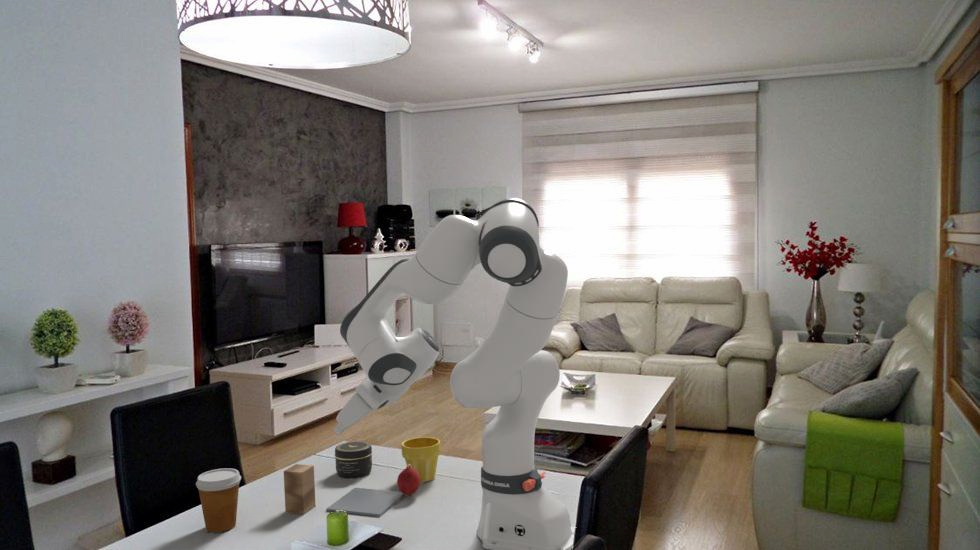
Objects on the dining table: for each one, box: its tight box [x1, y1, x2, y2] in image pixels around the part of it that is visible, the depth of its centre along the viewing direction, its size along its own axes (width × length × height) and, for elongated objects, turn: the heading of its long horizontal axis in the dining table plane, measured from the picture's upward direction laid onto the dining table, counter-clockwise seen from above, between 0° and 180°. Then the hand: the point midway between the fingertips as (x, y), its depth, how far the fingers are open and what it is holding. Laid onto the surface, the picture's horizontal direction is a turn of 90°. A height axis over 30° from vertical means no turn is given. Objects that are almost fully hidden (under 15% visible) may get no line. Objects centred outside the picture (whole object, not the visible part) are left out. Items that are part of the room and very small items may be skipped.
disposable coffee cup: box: [195, 467, 242, 533], centre depth 154 cm, size 10×10×12 cm
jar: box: [334, 440, 373, 480], centre depth 188 cm, size 10×10×8 cm
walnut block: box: [283, 463, 317, 516], centre depth 163 cm, size 5×5×10 cm
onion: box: [396, 464, 422, 497], centre depth 170 cm, size 6×6×8 cm
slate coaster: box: [325, 487, 405, 518], centre depth 167 cm, size 14×14×1 cm
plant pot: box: [401, 436, 442, 483], centre depth 183 cm, size 10×10×10 cm
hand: (346, 425), depth 158 cm, fingers open, 8 cm apart
